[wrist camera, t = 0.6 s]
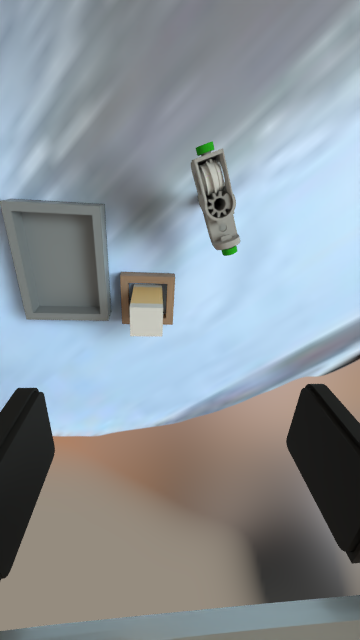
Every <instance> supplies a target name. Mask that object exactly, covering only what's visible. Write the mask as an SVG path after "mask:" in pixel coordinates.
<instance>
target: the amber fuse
mask: <svg viewBox="0 0 360 640" xmlns="http://www.w3.org/2000/svg"><path fill="white" fill-rule="evenodd" d="M162 328H163V296H162V285H158V284H134V287H133V293H132V298H131V303H130V336H162Z"/></svg>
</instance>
